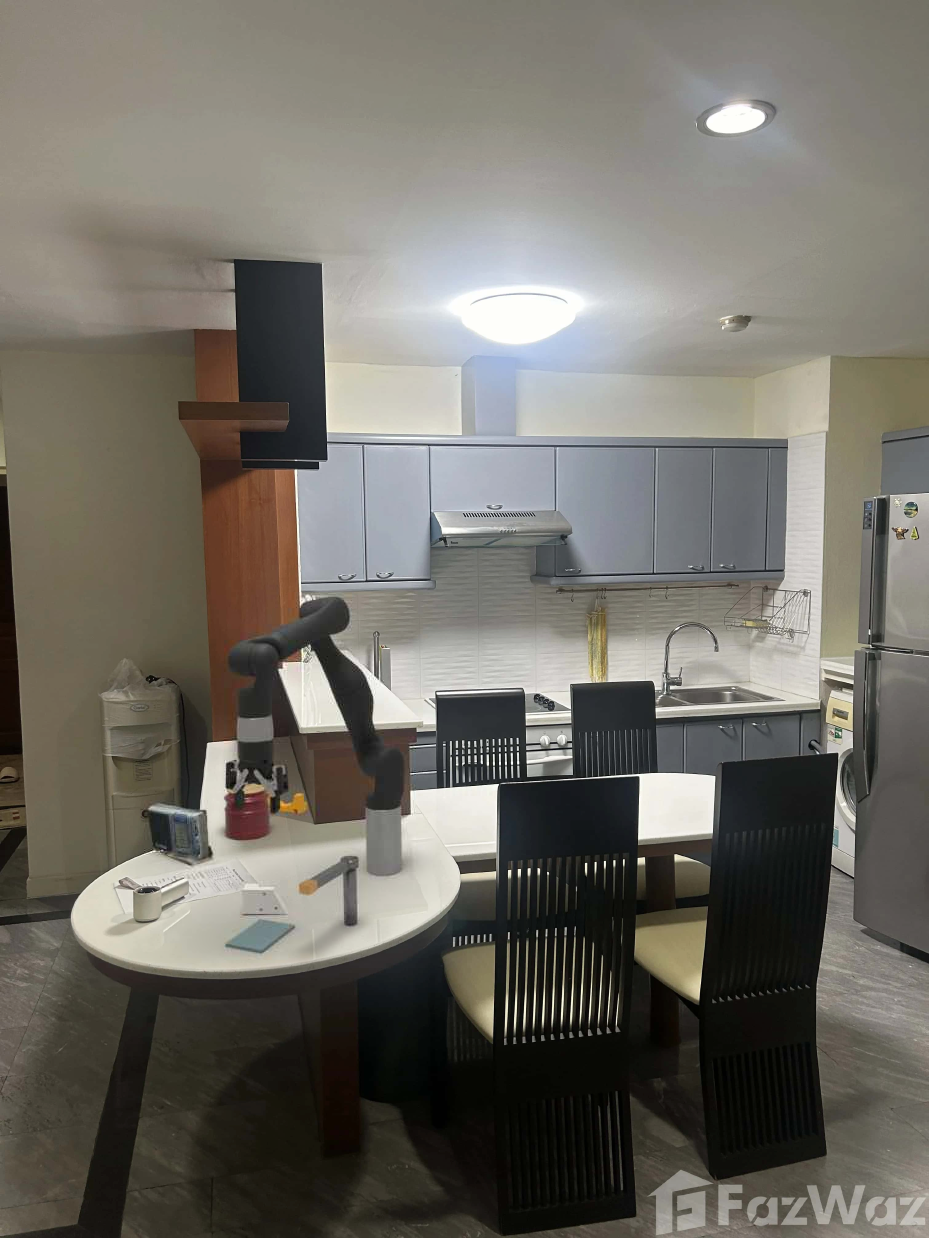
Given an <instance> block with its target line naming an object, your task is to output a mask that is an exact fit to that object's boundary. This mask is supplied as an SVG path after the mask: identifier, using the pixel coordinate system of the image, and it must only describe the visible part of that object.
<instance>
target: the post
mask: <svg viewBox="0 0 929 1238" xmlns="http://www.w3.org/2000/svg"><path fill="white" fill-rule="evenodd" d="M357 871H358V870H357V868H356V869H353V870H348V871H347V872H345V873H343V874H342V880H343V881H342V884H343V885H342V886H343V887H342V888H343V893H342V894H343V925H344V926H346V927H354V926H356V925H357V924H358V885H357V884H358V883H357V882H358V881H357V880H358V879H357V878H358V877H357Z"/></svg>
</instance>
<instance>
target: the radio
mask: <svg viewBox="0 0 929 1238" xmlns="http://www.w3.org/2000/svg"><path fill="white" fill-rule="evenodd" d="M207 814H208V813H207V809H195V808H194V809H193V808H184V807H182V806H178V805H168V804H163V803H154V804H150V806H149V807H148V808H147V818H148V823H149V830H150V834H151V842H152V850H153V851H155V852H157V851H160V852H158V853H159V854H160V853H161V854H160V855H162V856H165V857H168V858H171V859H173V860H175V861H178V862H180V863H184V864H187V865H188V866H191V867H194V866H197V865H200V864H201V865H202V864H204V863H207V862H210V861H212V860H214V857H213V856H214V852H213V849H212V846H211V845H209V830H208V815H207ZM161 850H163V851H161Z"/></svg>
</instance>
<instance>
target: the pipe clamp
mask: <svg viewBox="0 0 929 1238" xmlns="http://www.w3.org/2000/svg"><path fill="white" fill-rule="evenodd" d="M267 792H268V791H267ZM268 793H269V792H268ZM270 797H271V795H270V796H269V797H268V803H269V804H270ZM269 811H270V807H269ZM306 811H308V802H307V801H305V794H304V793H300V792H299V793H296V794H294V795H293V800H292V802H289V803H284V801H282V800H281V799H280V810H279V811H278V812H286V813H293V814H295V813H296V814H301V813H304V812H306Z"/></svg>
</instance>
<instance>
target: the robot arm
mask: <svg viewBox="0 0 929 1238" xmlns="http://www.w3.org/2000/svg"><path fill="white" fill-rule="evenodd" d="M298 609H299V610H298V619H295V620H292V621H289V622H287V623H284V624H281V625H279V626H277V627H275V628H274V629H272V630H270V631H268V632H266V633H265V634H263V635H258V636H255V637H252V638H247V639H244V640H242V641H239V642H238V643H236V644H235V645H234V646H232V648H231V649H230V651H229V653H228V655H227V659H226V661H227V666H228V669H229V670H230V672H232V673H233V674H234V675H236V676H240V677H252V678H253V677H254V678H255V679H254V682H253V685H252V686H248V687H243V688H241V689H240V690H239V691H238V693H237V699H236V700H237V701H236V702H237V725H236V736H237V738H236V739H237V740H236V741H237V742H236V744H237V759H238V760H239V761H237V760H236V759H233V760H231V761H227V762H226V764H225V784H224V785H225V788H226V790H227V789H230V790H232V791H233V792H234V805H235V807H236V809H237V810H241V809H243V808H244V807H245V796H244V791H243V789H244V788H245V786H246V785H247V783H248V784H253V783H255V784H257V785H261V784H262V785H263V787H264V788H265V790H267V792H269V794H270V795H271V797H270V810H269V814H271V815H275V814H278V813H279V812H280V811H279V810H280V800H281V796H282V795H284V794H286V793H288V792H289V791H290V789H289V788H290V787H289V775H288V766H287V764H281V765H275V764H274V756H275V746H274V745H275V744H274V739H275V737H274V736H275V735H274V722H273V721H274V720H273V713H272V712H273V711H272V710H273V709H272V695H273V694H272V693H273V691H274V690H273V689H274V685H275V681H276V677H277V673H278V669H279V663H281V662H284V661H285V660H287V659H289V658H291V656H293V655H294V654H296V653H297V652H300V651H301V650H302V649H304V648H306V647H308V646H309V645H310V647H311V649H312V650H313V653H314V654H315V656H316V657H317V660H318V663H319V664H320V666H321V669H322V670H323V673H324V675H325V678H326V679H327V682H328V685H329V688H330V691H331V693H332V695H333V697H334V700H335V703H336V705H337V707H338V709H339V711H340V714H341V716H342V718H343V721H344V724H345V726H346V729H347V732H348V733H349V735H350V739H351V742H352V746H353V750H354V753H355V757H356V759H357V760H356V761H357V763H358V766H359V768H360V771H361V772H362V773H363V774H364V775H365V776H367V777H368V778H370V779H374V789H373V790H374V791H370V792H368V793H367V794H366V795H365V801H364V802H365V805H364V806H365V850H366V851H365V852H366V853H365V855H366V857H365V858H366V861H365V862H366V872H367V873H368V874H370V875H373V876H380V877H385V876H392V875H396V874H398V873H400V872H402V869H403V853H402V852H403V851H402V850H403V846H402V843H403V839H402V834H403V833H402V799H403V796H404V791H405V772H406V771H405V770H406V768H405V767H406V766H405V757H404V755H403V753H402V751H401V750H400V749H399V748H398V747H395V746H392V745H389V744H385V743H383V742H382V740H381V738H380V737H379V734H378V732H377V730H376V728H375V724H374V719H373V715H374V704H375V703H374V702H375V701H374V695H373V692H372V689H371V687H370V683H369V681H368V679H367V676H366V675H365V673H364V672H363V670H362V669H361V668H360V667H359V666H358V665H357V664H356V663H355V662H354V661H352V660H351V659H349V657H348V656H346V655H345V653H343V652H342V651H340V649H339V648H338V647H337V645H336V644H335V643H334V640H333V638H332V635H336V634H339V633H342V632H344V631H345V630H346V629H347V627H348V626H349V624H350V620H351V614H350V613H351V612H350V609H349V606H348V604H347V603H346V601H345V600H344V599H343V598H341V597H339V596H326V597H322V598H321V597H320V598H316V599H311V600H307V601H304V602H302V604H301V605H300V607H299V608H298ZM238 771H239V773H240V776H239V777H238ZM274 775H275V776H274Z"/></svg>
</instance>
